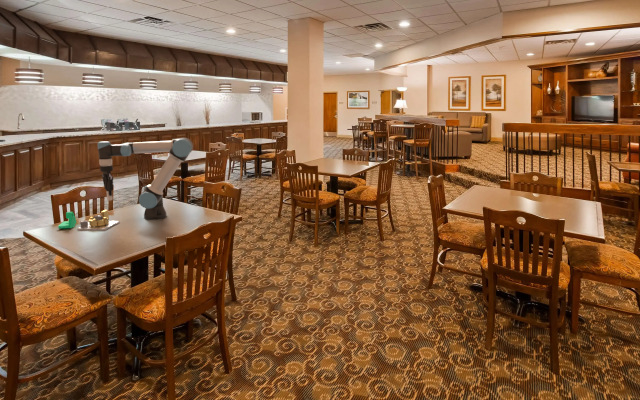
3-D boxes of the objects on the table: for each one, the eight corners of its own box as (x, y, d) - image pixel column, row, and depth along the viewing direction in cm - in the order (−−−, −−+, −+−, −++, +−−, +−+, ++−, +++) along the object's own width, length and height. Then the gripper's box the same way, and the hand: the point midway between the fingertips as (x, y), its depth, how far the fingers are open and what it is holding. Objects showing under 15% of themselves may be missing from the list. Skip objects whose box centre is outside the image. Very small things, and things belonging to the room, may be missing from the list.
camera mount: (64, 225, 269) (61, 210, 267) (76, 224, 272) (74, 209, 269) (58, 230, 258) (55, 214, 256) (71, 229, 260) (69, 214, 258)
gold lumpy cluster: (102, 226, 261) (101, 216, 260) (86, 226, 262) (85, 215, 260) (115, 219, 277) (114, 210, 275) (100, 219, 277) (98, 209, 276)
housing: (119, 222, 276) (118, 212, 274) (105, 230, 258) (103, 219, 257) (92, 222, 276) (91, 212, 275) (76, 229, 259) (74, 219, 257)
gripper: (116, 165, 263) (120, 200, 268) (107, 163, 271) (111, 197, 277) (104, 166, 257) (108, 202, 262) (96, 164, 266) (100, 199, 271)
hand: (110, 200), depth 270 cm, fingers closed
